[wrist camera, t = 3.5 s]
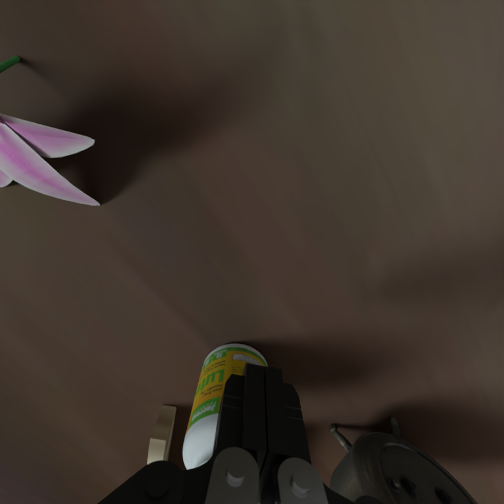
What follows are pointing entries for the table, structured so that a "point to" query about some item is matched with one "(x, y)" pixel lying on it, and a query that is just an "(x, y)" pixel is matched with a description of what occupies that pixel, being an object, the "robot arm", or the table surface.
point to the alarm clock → (393, 472)
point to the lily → (38, 154)
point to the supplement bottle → (213, 399)
